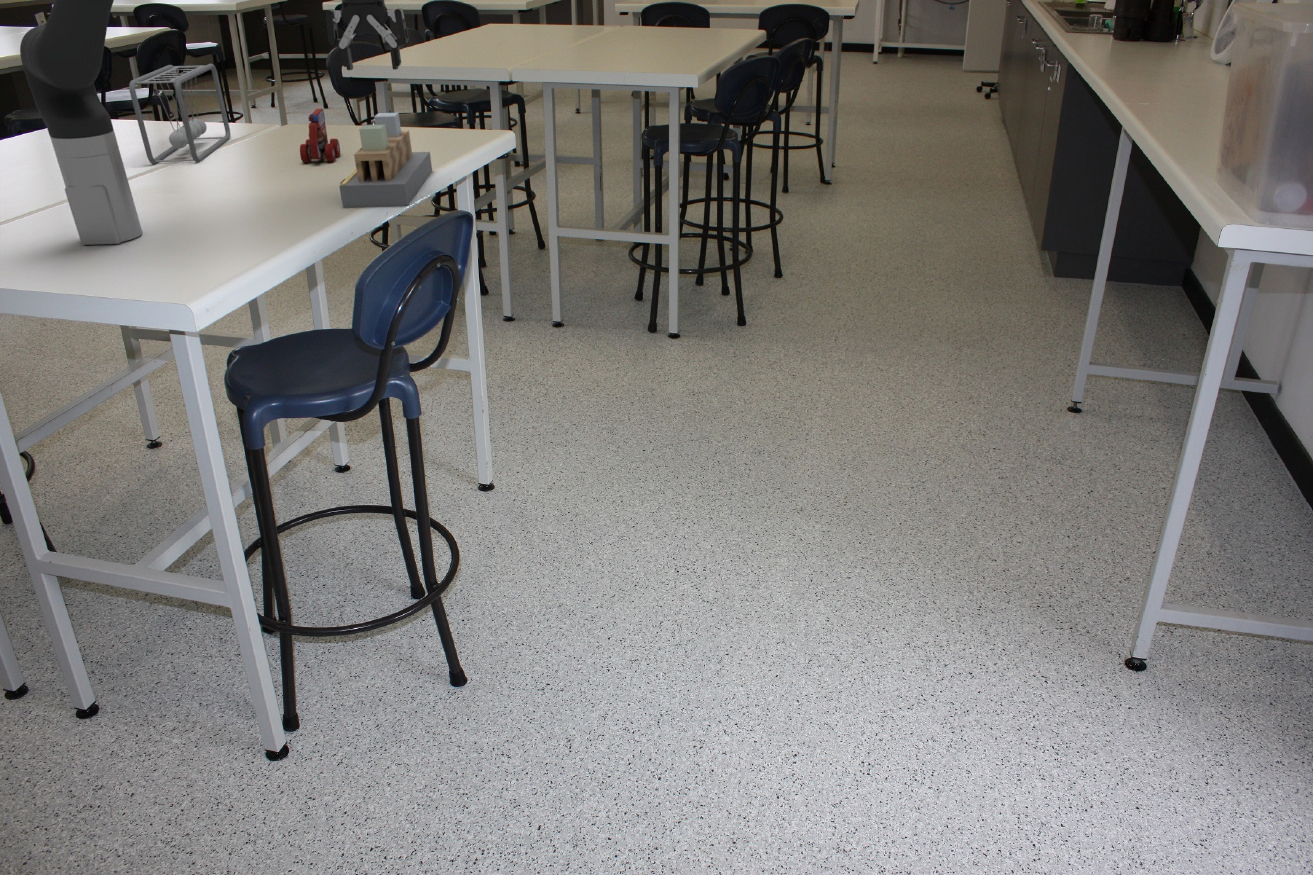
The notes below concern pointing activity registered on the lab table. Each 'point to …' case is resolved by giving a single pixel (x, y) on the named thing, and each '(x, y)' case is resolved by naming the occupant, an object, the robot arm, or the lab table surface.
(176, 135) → the newton's cradle
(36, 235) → the lab table surface
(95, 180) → the robot arm
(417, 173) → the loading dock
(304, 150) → the toy fire truck
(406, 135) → the tan wooden bar
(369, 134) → the block
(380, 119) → the block
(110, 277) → the lab table surface
